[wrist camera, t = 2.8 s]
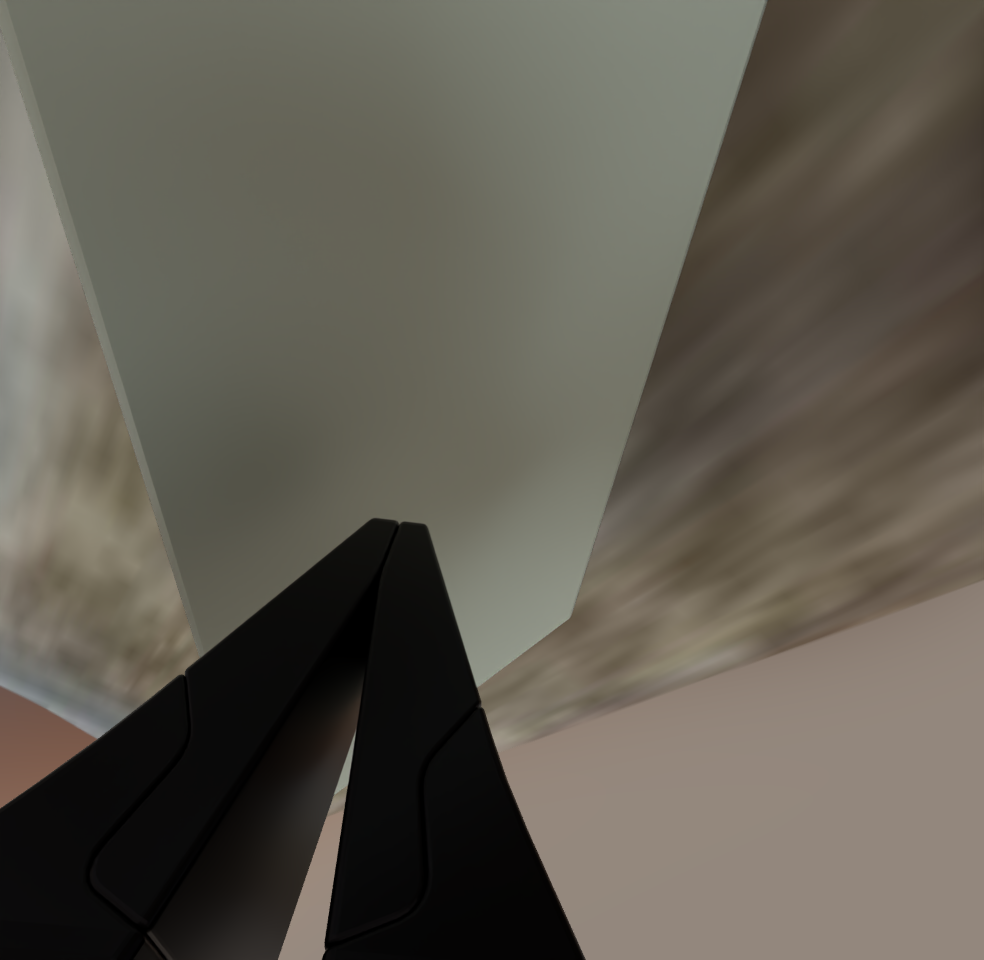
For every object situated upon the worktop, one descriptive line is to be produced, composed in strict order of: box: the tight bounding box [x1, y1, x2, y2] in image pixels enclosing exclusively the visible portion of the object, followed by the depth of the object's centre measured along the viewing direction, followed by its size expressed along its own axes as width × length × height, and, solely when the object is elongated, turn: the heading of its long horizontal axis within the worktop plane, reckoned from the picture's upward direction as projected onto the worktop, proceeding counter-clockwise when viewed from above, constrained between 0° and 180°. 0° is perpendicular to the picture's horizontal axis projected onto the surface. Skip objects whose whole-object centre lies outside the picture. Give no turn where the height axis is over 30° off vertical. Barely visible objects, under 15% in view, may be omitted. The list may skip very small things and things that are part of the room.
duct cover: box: [0, 0, 768, 795], centre depth 11 cm, size 12×20×1 cm
